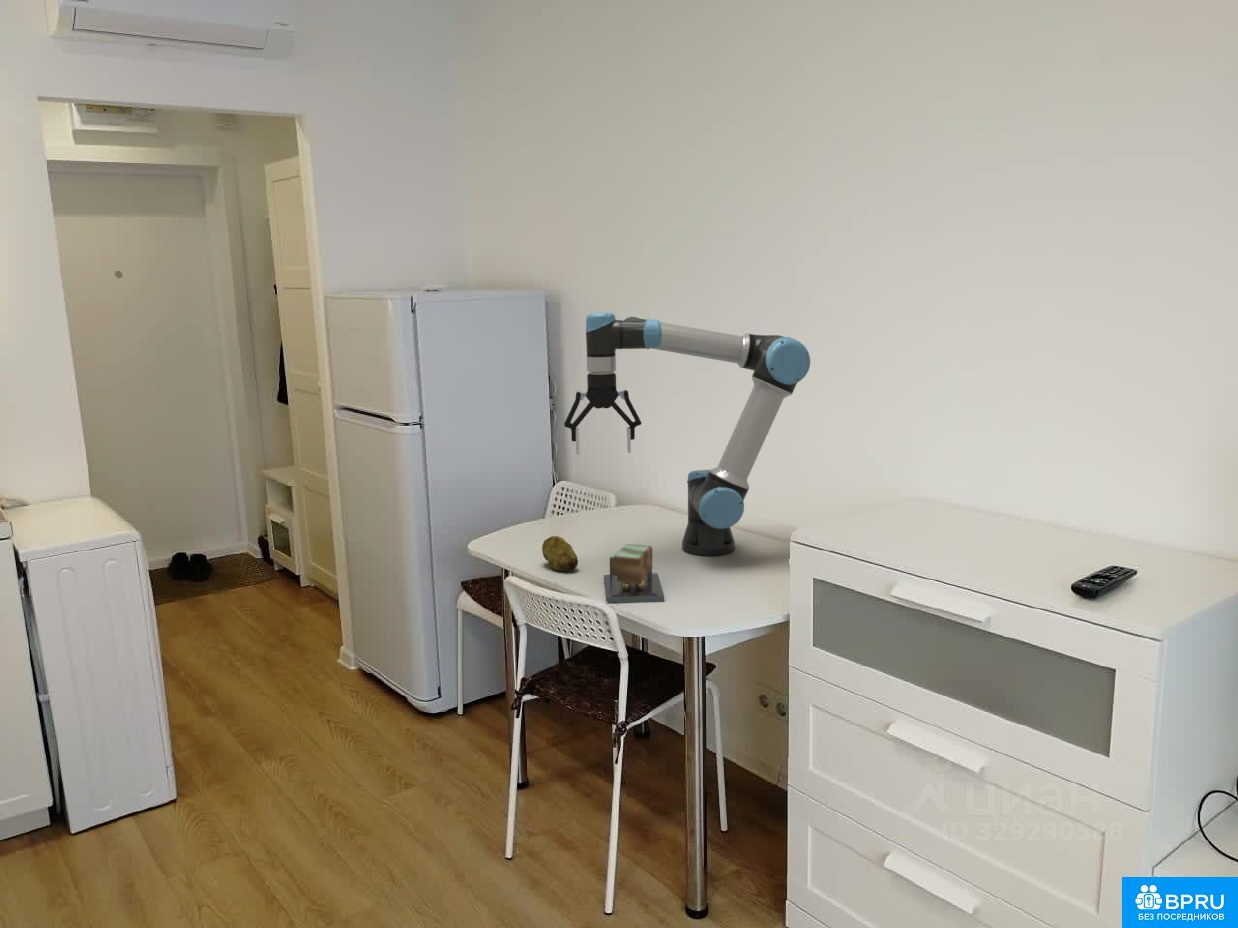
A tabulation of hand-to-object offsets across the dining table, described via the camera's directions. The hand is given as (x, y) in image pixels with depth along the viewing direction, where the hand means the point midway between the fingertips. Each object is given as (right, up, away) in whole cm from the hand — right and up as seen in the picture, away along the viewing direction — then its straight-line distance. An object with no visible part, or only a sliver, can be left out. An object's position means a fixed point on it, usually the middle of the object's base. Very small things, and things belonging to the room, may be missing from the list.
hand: (603, 452), depth 258 cm
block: (+8, -31, -14) cm, 35 cm away
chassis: (+8, -35, -13) cm, 38 cm away
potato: (-12, -31, +7) cm, 34 cm away
